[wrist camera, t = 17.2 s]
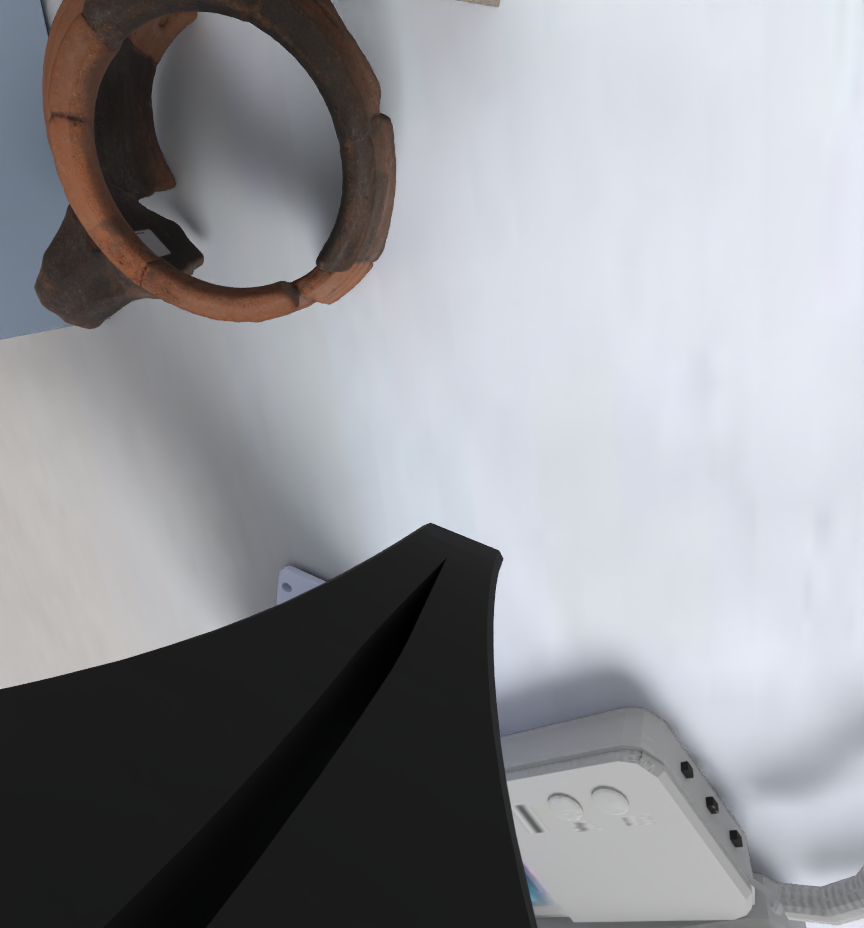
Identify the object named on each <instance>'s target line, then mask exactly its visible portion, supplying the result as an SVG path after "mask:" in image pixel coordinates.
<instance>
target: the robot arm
mask: <svg viewBox="0 0 864 928" xmlns="http://www.w3.org/2000/svg"><path fill="white" fill-rule="evenodd" d="M502 561H503V557H502V555H501V553H500V551H499V550H497V549H494V548H492V547H489V546H487V545H484V544H482V543H479V542H477V541H474V540H472V539H469V538H467V537H465V536H462V535H460V534H457V533H455V532H452V531H450V530H447V529H445V528H442V527H440V526H437V525H435V524H432V523H429V524H426V525H424V526H422V527H420V528H419V529H417V530H416V531H414V532H413V533H411V534H409V535H408V536H406V537H405V538H403V539H402V540H400V541H398V542H397V543H395V544H393V545H392V546H390V547H388V548H387V549H385V550H383V551H382V552H380V553H378V554H377V555H375V556H373V557H371V558H370V559H368V560H366V561H364V562H362V563H361V564H359V565H357V566H355V567H353V568H352V569H350V570H348V571H346V572H344V573H342V574H341V575H339V576H337V577H335V578H333V579H331V580H329V581H327V582H326V581H324V580H321V579H319V578H317V577H315V576H313V575H310V574H308V573H306V572H304V571H301V570H299V569H297V568H295V567H292V566H285V567H284V568H283V569H282V570H281V571H280V572H279V578H278V589H277V599H276V606H274V607H272V608H269V609H267V610H265V611H262V612H260V613H258V614H255V615H253V616H250V617H248V618H245V619H243V620H240V621H237V622H235V623H232V624H230V625H227V626H224V627H222V628H219V629H216V630H214V631H211V632H208V633H205V634H202V635H199V636H196V637H193V638H190V639H187V640H184V641H181V642H178V643H175V644H172V645H169V646H166V647H163V648H159V649H156V650H153V651H150V652H147V653H143V654H140V655H137V656H134V657H130V658H127V659H123V660H120V661H116V662H112V663H108V664H104V665H100V666H96V667H92V668H88V669H84V670H80V671H76V672H73V673H69V674H65V675H61V676H57V677H53V678H48V679H44V680H40V681H36V682H31V683H27V684H23V685H18V686H14V687H9V688H4V689H0V928H538V927H537V923H536V918H535V914H534V910H533V905H532V901H531V897H530V892H529V888H528V884H527V879H526V875H525V871H524V866H523V862H522V857H521V853H520V849H519V844H518V840H517V835H516V830H515V825H514V820H513V814H512V809H511V803H510V798H509V792H508V786H507V781H506V774H505V767H504V761H503V754H502V747H501V740H500V732H499V723H498V714H497V703H496V690H495V677H494V648H493V620H494V602H495V591H496V584H497V578H498V573H499V570H500V567H501V564H502ZM288 584H289V585H290V586H289V585H288Z"/></svg>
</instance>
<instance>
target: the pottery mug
mask: <svg viewBox="0 0 864 928" xmlns="http://www.w3.org/2000/svg"><path fill="white" fill-rule="evenodd" d="M197 12H212V13H219V14H222V15H226V16H230V17H233V18H237V19H239V20H242V21H245V22H250V23H252V24H253V25H255V26H256V27H257V28H259V29H260V30H262V31H263V32H265V33H266V34H268V35H270V36H271V37H272V38H273V39H274V40H276V41H277V42H279V43H280V44H281V45H282V46H283V47H284V48H285V49H286V50H287V51H288V52H289V53H291V54H292V55H293V56H294V57H295V58H296V59H297V61H298V62H299V63H300V64H301V65H302V66H303V68H304V69H305V70H306V71H307V73H308V74H309V76H310V77H311V78H312V80H313V81H314V83H315V84H316V86H317V88H318V90H319V92H320V93H321V95H322V97H323V99H324V101H325V103H326V105H327V107H328V109H329V112H330V114H331V117H332V120H333V123H334V126H335V130H336V134H337V137H338V140H339V143H340V153H341V159H342V173H343V186H342V198H341V205H340V209H339V213H338V216H337V219H336V223H335V225H334V228H333V230H332V232H331V234H330V237H329V238H328V240H327V242H326V243H325V245H324V246H323V248H322V250H321V251H320V253H319V255H318V257H317V260H316V265H317V266H316V267H315V268H314V269H313V270H312V271H310V272H309V273H308V274H306V275H305V276H303V277H301V278H299V279H297V280H295V281H293V282H285V281H279V282H276V283H273V284H270V285H265V286H260V287H252V288H233V287H225V286H219V285H215V284H211V283H208V282H205V281H202V280H199V279H197V278H194V277H192V276H191V275H192V274H193V272H194V270H195V269H197V268H198V267H199V266H201V265H202V264H203V261H204V256H203V254H202V253H201V252H200V251H199V250H198V248H196V247H195V246H194V244H193V243H192V242H191V241H190V240H189V239H188V238H187V236H186V235H185V233H184V231H183V230H182V229H181V227H180V226H179V225H178V224H177V223H175V222H174V221H171V220H168V219H166V218H164V217H162V216H160V215H159V214H157V213H155V212H153V211H150V210H149V209H147V208H145V207H144V206H143V205H142V204H140V203H139V202H138V200H139V199H141V198H144V197H148V196H151V195H153V194H154V193H155V192H158V191H165V190H168V189H171V188H173V187H175V185H176V182H175V180H174V178H173V176H172V174H171V172H170V170H169V168H168V167H167V165H166V163H165V161H164V158H163V155H162V152H161V150H160V148H159V145H158V142H157V138H156V134H155V128H154V122H153V110H152V100H151V94H152V84H153V79H154V76H155V72H156V66H157V64H158V63H159V62H160V60H161V58H162V56H163V54H164V53H165V51H166V49H167V48H168V47H169V45H170V44H171V43H172V41H173V40H174V39H175V37H176V36H177V35H178V34H179V33H180V32H181V31H182V30H183V29H184V28H185V27H186V26H187V25H188V24H190V23H191V22H192V21H194V20H195V19H196V17H197ZM42 98H43V113H44V120H45V125H46V131H47V139H48V143H49V145H50V149H51V151H52V154H53V157H54V162H55V167H56V171H57V174H58V176H59V180H60V182H61V184H62V186H63V189H64V193H65V195H66V197H67V199H68V202H69V205H68V207H67V210H66V215H65V217H64V219H63V221H62V224H61V226H60V228H59V230H58V232H57V233H56V235H55V237H54V238H53V240H52V242H51V243H50V245H49V246H48V248H47V249H46V251H45V253H44V255H43V259H42V265H41V269H40V272H39V274H38V277H37V280H36V283H35V286H34V289H35V291H36V294H37V296H38V298H39V300H40V302H41V304H42V305H43V306H44V307H45V308H46V309H48V310H49V311H51V312H53V313H55V314H56V315H58V316H59V317H60V318H61V319H62V320H63V321H64V322H66V323H68V324H71V325H75V326H79V327H83V328H86V329H93V328H96V327H98V326H100V325H101V324H102V323H103V322H104V321H105V320H106V319H107V318H109V317H110V316H111V315H113V314H114V313H116V312H117V311H118V310H120V309H121V308H122V307H124V306H125V305H127V304H128V303H130V302H132V301H134V300H138V299H142V298H152V299H162V300H163V301H165V302H167V303H170V304H173V305H175V306H177V307H179V308H181V309H183V310H186V311H189V312H191V313H194V314H197V315H200V316H204V317H208V318H210V319H215V320H223V321H233V322H263V321H265V320H269V319H273V318H277V317H281V316H284V315H288V314H290V313H292V312H295V311H298V310H301V309H303V308H306V307H309V306H310V305H312V304H313V303H315V302H320V303H325V304H332V303H334V302H335V301H337V300H339V299H340V298H341V297H342V296H344V295H345V294H346V293H348V292H349V291H350V290H351V289H353V288H354V287H355V286H356V285H357V284H358V283H359V282H360V281H361V280H362V279H363V278H364V276H365V275H366V274H367V273H368V272H369V271H370V270H371V268H372V267H373V263H372V262H375V261H376V260H377V259H378V258H379V257H380V255H381V254H382V252H383V250H384V247H385V243H386V239H387V235H388V231H389V227H390V222H391V216H392V211H393V205H394V196H395V185H396V157H395V145H394V133H393V126H392V123H391V120H390V118H389V117H388V116H386V115H384V114H382V113H380V110H379V104H380V98H381V90H380V85H379V82H378V80H377V78H376V76H375V74H374V72H373V70H372V68H371V66H370V64H369V62H368V61H367V59H366V57H365V55H364V54H363V52H362V51H361V50H360V48H359V47H358V45H357V43H356V41H355V39H354V38H353V36H352V35H351V34H350V33H349V32H348V30H347V28H346V27H345V25H344V23H343V22H342V20H341V18H340V16H339V14H338V13H337V11H336V9H335V7H334V5H333V4H332V2H331V1H330V0H63V1H62V3H61V5H60V7H59V9H58V11H57V14H56V16H55V18H54V21H53V24H52V26H51V29H50V33H49V36H48V41H47V45H46V50H45V55H44V63H43V78H42Z"/></svg>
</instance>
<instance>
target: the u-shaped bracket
mask: <svg viewBox="0 0 864 928" xmlns="http://www.w3.org/2000/svg"><path fill="white" fill-rule="evenodd" d="M459 1H465V2H471V3H477V4H483V5H489V6H494V7H499V3H500V0H459Z"/></svg>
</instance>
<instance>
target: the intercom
mask: <svg viewBox="0 0 864 928" xmlns="http://www.w3.org/2000/svg"><path fill="white" fill-rule="evenodd" d="M500 740H501V747H502V754H503V761H504V767H505V774H506V781H507V786H508V792H509V798H510V803H511V809H512V814H513V820H514V825H515V830H516V835H517V840H518V844H519V849H520V853H521V857H522V862H523V866H524V871H525V875H526V879H527V884H528V888H529V892H530V897H531V901H532V905H533V910H534V914H535V918H536V923H537V927H538V928H806V924H805V922H813V923H822V924H831V925H840V924H844V923H848V922H851V921H855V920H859V919H862V918H864V866H863V867H862V868H861V870H860V871H859V872H858V873H857V875H855V876H852V877H849V878H846V879H843V880H840V881H837V882H834V883H831V884H828V885H825V886H822V887H819V886H808V885H797V884H787V883H778V884H777V883H776V882H774V881H773V880H771V879H769V878H768V877H766V876H765V875H763V874H758V873H752V868H751V862H750V856H749V850H748V844H747V838H746V835H745V834H744V832H743V831H742V829H741V828H740V827H739V825H738V824H737V822H736V821H735V820H734V818H733V817H732V815H731V814H730V812H729V811H728V810H727V808H726V807H725V805H724V804H723V803H722V801H721V800H720V798H719V797H718V796H717V794H716V793H715V791H714V790H713V789H712V787H711V786H710V784H709V783H708V781H707V780H706V779H705V777H704V776H703V774H702V773H701V772H700V770H699V769H698V767H697V766H696V765H695V763H694V762H693V760H692V759H691V757H690V756H689V755H688V753H687V752H686V750H685V749H684V748H683V746H682V745H681V743H680V742H679V741H678V739H677V738H676V736H675V735H674V734H673V732H672V731H671V729H670V728H669V726H668V725H667V724H666V722H665V721H664V720H662V719H661V718H659V717H657V716H656V715H654V714H653V713H651V712H650V711H648V710H646V709H645V708H634V707H624V708H620V709H616V710H611V711H607V712H603V713H599V714H595V715H590V716H586V717H582V718H578V719H574V720H569V721H565V722H561V723H557V724H552V725H548V726H544V727H540V728H536V729H531V730H527V731H523V732H519V733H515V734H510V735H506V736H502V737H500Z"/></svg>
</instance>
